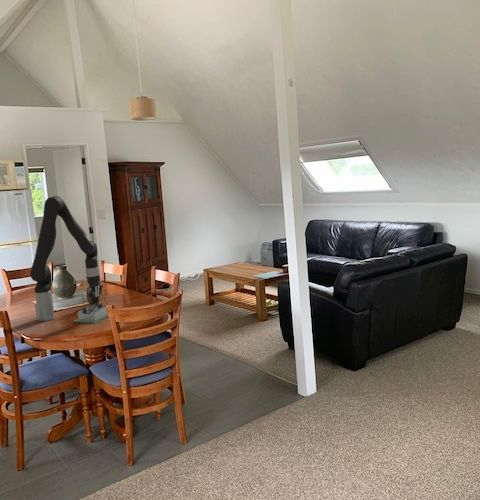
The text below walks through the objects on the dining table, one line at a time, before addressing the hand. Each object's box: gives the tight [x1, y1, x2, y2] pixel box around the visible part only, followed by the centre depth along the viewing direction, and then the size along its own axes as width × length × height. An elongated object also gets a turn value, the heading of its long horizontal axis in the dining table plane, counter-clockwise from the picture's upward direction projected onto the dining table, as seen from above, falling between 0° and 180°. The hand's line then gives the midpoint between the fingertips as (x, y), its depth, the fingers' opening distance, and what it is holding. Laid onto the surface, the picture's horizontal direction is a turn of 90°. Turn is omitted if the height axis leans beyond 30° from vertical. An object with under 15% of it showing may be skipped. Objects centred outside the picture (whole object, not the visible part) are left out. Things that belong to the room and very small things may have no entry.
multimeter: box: [81, 276, 108, 307], centre depth 319 cm, size 15×10×20 cm
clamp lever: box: [85, 300, 102, 313], centre depth 295 cm, size 12×3×2 cm, turn 158°
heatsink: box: [72, 303, 109, 324], centre depth 296 cm, size 16×19×7 cm
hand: (96, 302), depth 298 cm, fingers closed
